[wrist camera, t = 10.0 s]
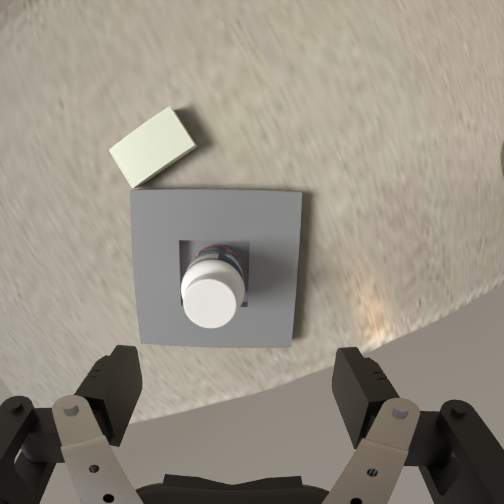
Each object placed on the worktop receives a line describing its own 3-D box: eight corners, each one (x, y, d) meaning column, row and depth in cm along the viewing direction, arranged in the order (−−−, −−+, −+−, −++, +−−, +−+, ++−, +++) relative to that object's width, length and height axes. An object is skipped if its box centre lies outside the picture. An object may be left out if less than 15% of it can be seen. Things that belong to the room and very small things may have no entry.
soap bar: (174, 110, 29) (169, 105, 27) (198, 147, 30) (194, 145, 28) (117, 151, 30) (108, 149, 27) (140, 187, 31) (132, 188, 28)
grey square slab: (298, 191, 31) (302, 192, 29) (288, 339, 35) (291, 347, 33) (135, 189, 30) (130, 190, 29) (145, 335, 34) (141, 343, 32)
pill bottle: (250, 284, 33) (256, 324, 24) (202, 301, 33) (192, 345, 24) (231, 236, 31) (230, 260, 23) (182, 254, 31) (163, 285, 23)
